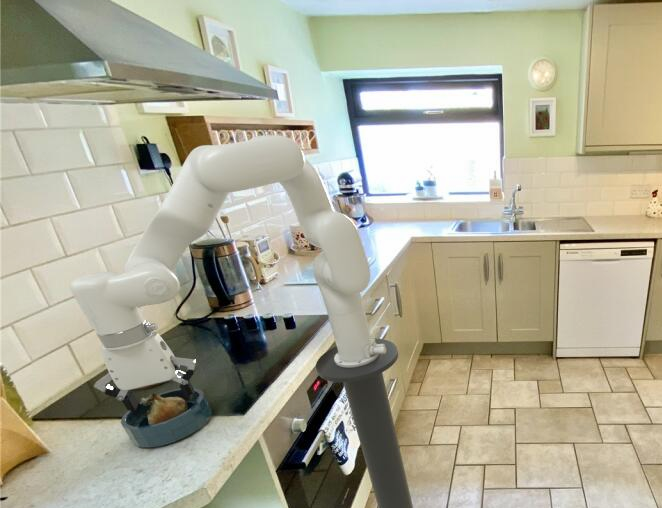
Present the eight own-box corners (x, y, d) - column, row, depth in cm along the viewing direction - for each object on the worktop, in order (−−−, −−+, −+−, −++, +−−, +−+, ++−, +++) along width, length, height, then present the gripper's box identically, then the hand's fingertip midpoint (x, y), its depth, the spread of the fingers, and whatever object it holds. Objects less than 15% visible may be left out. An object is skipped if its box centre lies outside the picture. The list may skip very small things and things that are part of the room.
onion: (149, 441, 88) (132, 410, 85) (154, 421, 94) (138, 392, 91) (192, 427, 92) (177, 398, 88) (194, 409, 98) (180, 380, 94)
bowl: (227, 406, 99) (218, 387, 97) (179, 450, 86) (167, 429, 84) (170, 406, 100) (160, 387, 98) (115, 449, 88) (101, 428, 85)
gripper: (181, 317, 89) (212, 384, 97) (78, 338, 83) (121, 407, 91) (173, 331, 83) (207, 401, 91) (61, 354, 77) (108, 427, 85)
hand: (164, 404), depth 91 cm, fingers open, 9 cm apart
